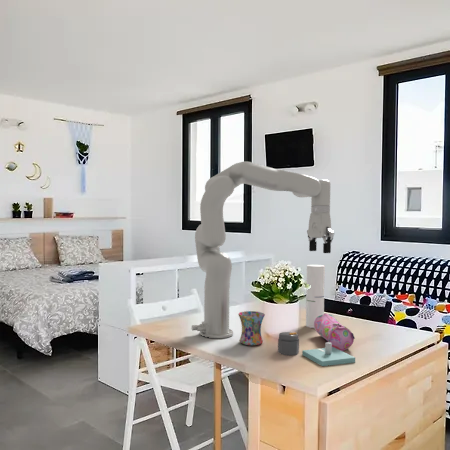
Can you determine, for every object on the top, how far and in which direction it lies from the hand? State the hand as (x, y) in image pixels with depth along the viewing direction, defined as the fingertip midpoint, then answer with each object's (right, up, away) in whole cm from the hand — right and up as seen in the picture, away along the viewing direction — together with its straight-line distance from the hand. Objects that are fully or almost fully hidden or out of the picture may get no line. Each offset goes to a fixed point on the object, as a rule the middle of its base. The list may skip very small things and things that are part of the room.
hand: (319, 252), depth 196 cm
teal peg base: (-6, -32, -42) cm, 53 cm away
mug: (-29, -31, -24) cm, 49 cm away
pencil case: (0, -32, -24) cm, 40 cm away
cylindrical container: (-2, -31, +1) cm, 31 cm away
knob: (-18, -32, -36) cm, 51 cm away
